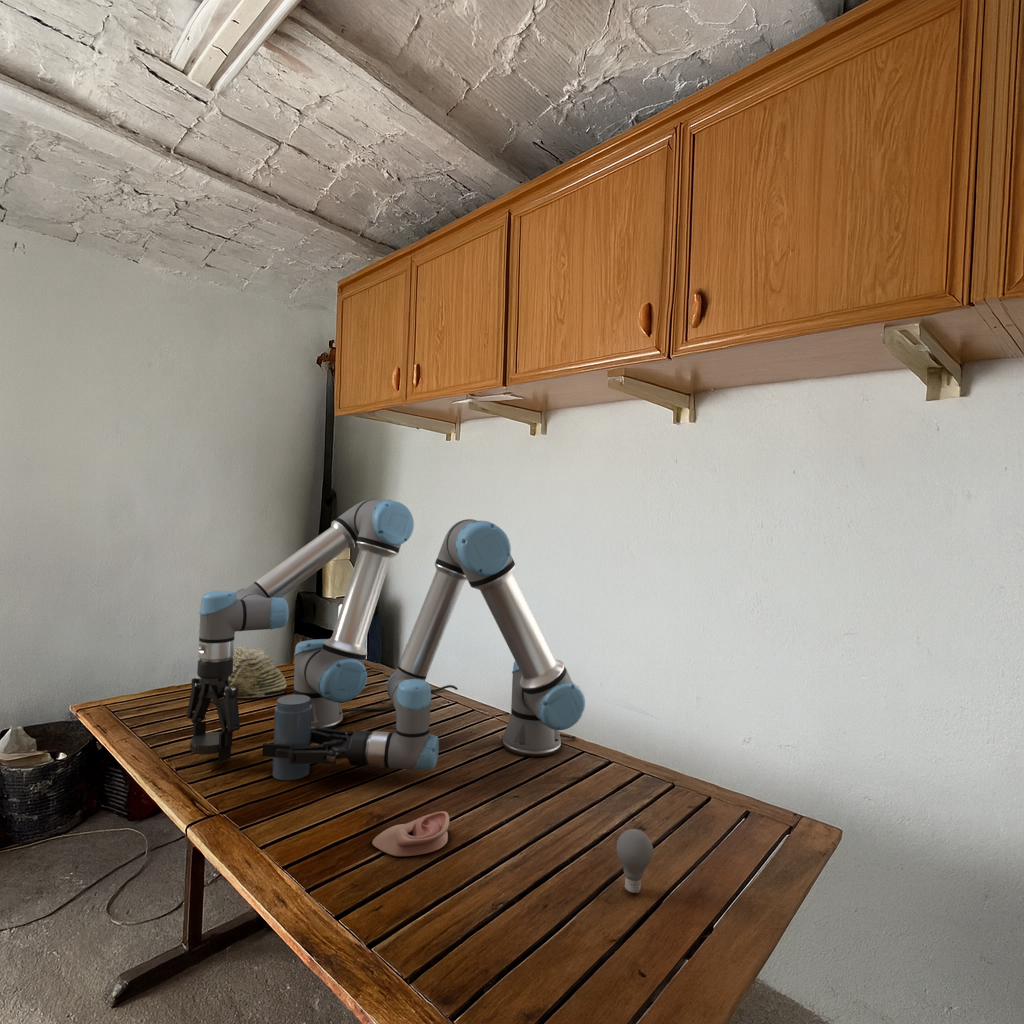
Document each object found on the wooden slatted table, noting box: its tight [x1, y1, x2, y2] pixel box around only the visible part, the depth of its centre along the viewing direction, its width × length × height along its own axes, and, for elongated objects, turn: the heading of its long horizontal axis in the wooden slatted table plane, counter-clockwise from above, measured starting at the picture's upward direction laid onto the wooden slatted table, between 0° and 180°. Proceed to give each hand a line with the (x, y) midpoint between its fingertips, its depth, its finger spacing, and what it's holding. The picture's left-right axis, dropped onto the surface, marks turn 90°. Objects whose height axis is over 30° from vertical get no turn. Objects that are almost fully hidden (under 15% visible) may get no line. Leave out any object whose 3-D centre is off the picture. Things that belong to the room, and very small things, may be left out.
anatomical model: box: [372, 810, 450, 857], centre depth 118 cm, size 13×4×12 cm
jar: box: [271, 694, 312, 781], centre depth 144 cm, size 8×8×17 cm
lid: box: [189, 731, 221, 755], centre depth 147 cm, size 9×9×2 cm
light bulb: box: [615, 828, 654, 894], centre depth 106 cm, size 6×6×10 cm
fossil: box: [228, 646, 288, 699], centre depth 198 cm, size 9×18×15 cm, turn 132°
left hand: (211, 754), depth 147 cm, fingers closed on lid, 9 cm apart
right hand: (271, 742), depth 145 cm, fingers closed on jar, 8 cm apart
